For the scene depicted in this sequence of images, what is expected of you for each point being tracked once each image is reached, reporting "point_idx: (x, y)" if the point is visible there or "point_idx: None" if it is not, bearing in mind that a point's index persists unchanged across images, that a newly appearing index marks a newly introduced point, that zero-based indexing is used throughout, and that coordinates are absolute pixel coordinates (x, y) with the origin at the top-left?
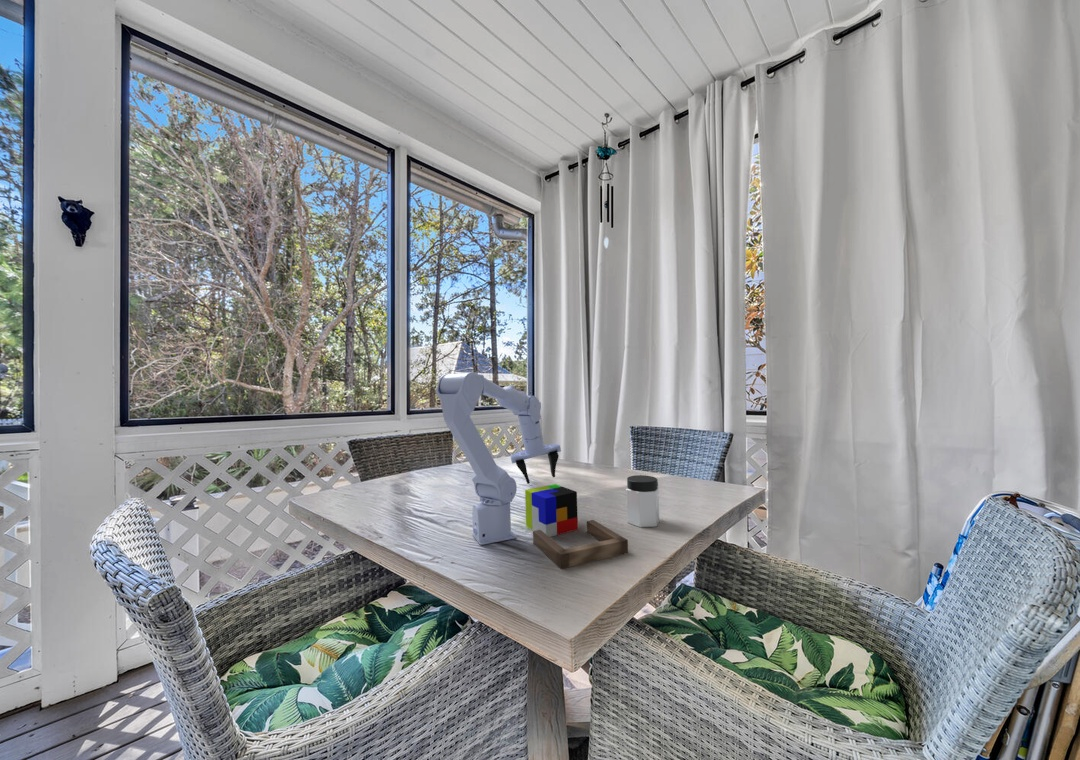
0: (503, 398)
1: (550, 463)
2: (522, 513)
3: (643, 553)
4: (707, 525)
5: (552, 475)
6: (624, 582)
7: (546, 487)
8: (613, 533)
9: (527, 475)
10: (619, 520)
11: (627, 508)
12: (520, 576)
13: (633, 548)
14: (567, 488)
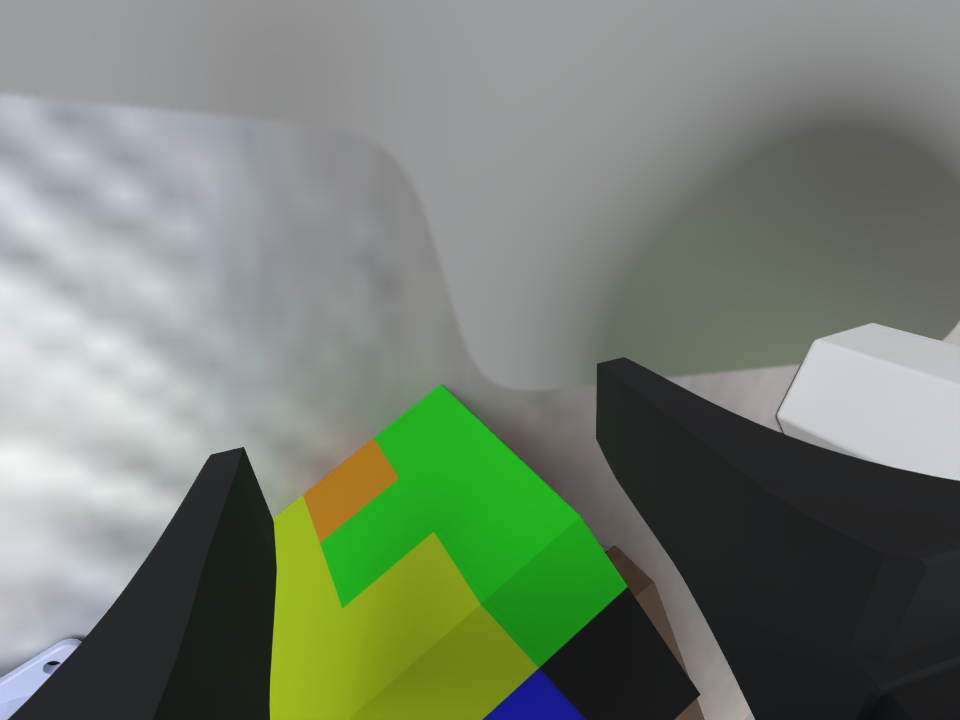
0: None
1: (710, 528)
2: (128, 262)
3: (719, 691)
4: None
5: (605, 437)
6: None
7: (487, 649)
8: (689, 712)
9: (266, 670)
10: (757, 378)
11: (843, 451)
12: None
13: (706, 665)
14: (657, 633)
